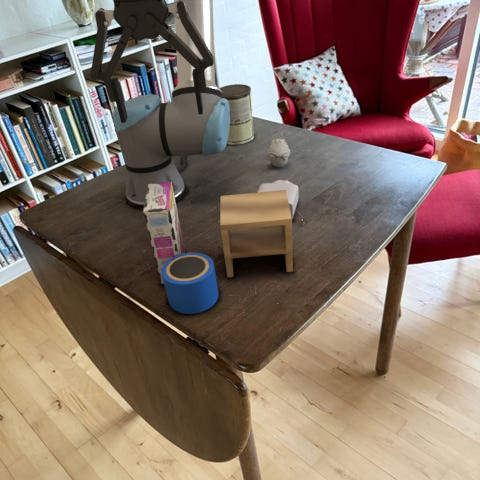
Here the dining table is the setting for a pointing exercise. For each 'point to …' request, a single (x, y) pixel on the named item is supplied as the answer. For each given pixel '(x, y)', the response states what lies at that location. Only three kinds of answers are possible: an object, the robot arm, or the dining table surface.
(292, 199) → the charger
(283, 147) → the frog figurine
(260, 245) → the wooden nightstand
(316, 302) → the dining table surface
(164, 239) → the candy bar box
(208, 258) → the tape roll
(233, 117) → the coffee can
